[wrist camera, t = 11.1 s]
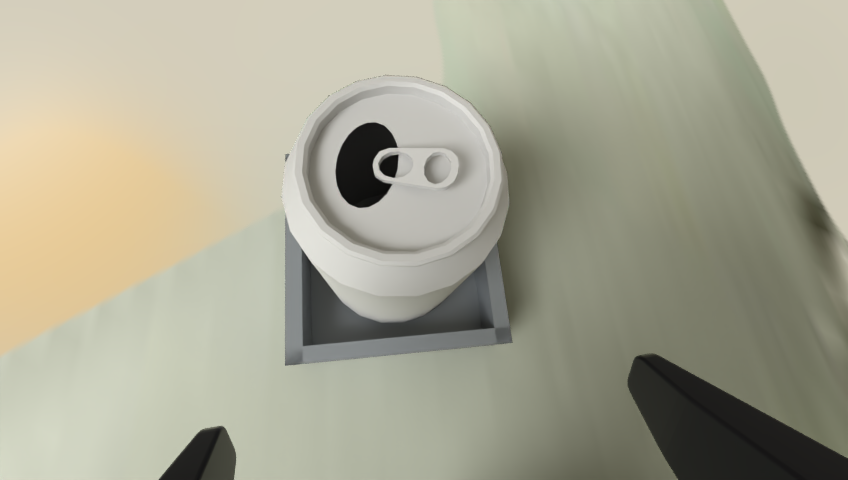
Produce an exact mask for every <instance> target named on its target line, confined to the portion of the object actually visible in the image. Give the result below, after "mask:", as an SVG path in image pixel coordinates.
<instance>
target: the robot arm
mask: <svg viewBox="0 0 848 480" xmlns="http://www.w3.org/2000/svg"><path fill="white" fill-rule="evenodd" d="M628 388H629V391H630V393H631V395H632V397H633V399H634V401H635V402H636V404H637V406H638V408H639V410H640V412H641V414H642V416H643V418H644V420H645V422H646V424H647V426H648V428H649V429H650V431H651V433H652V435H653V437H654V439H655V441H656V443H657V445H658V447H659V448H660V450H661V452H662V454H663V456H664V457H665V459H666V461H667V462H668V464H669V466H670V467H671V469H672V470H673V472H674V473H675V475H676V477H677V478H678V480H848V458H846V457H844V456H842V455H840V454H839V453H837V452H835V451H833V450H831V449H829V448H828V447H826V446H824V445H822V444H820V443H818V442H816V441H815V440H813V439H811V438H809V437H807V436H805V435H804V434H802V433H800V432H798V431H796V430H794V429H793V428H791V427H789V426H787V425H785V424H783V423H782V422H780V421H778V420H776V419H774V418H772V417H771V416H769V415H767V414H765V413H763V412H761V411H760V410H758V409H756V408H754V407H752V406H750V405H749V404H747V403H745V402H743V401H741V400H739V399H737V398H736V397H734V396H732V395H730V394H728V393H726V392H725V391H723V390H721V389H719V388H717V387H715V386H714V385H712V384H710V383H708V382H706V381H704V380H703V379H701V378H699V377H697V376H695V375H693V374H692V373H690V372H688V371H686V370H684V369H682V368H681V367H679V366H677V365H675V364H673V363H671V362H670V361H668V360H666V359H664V358H662V357H660V356H658V355H656V354H644V355H638V356H636V357H635V358H634V360H633V364H632V367H631V370H630V373H629V376H628ZM235 466H236V452H235V449H234V446H233V444H232V442H231V440H230V437H229V435H228V433H227V430H226V429H225V428H224V427H223V426H217V427H211V428H205V429H203V430H201V431H200V432H198V433H197V434H196V436H195V437H194V438H193V439H192V440H191V442H190V443H189V444H188V445H187V446H186V448H185V449H184V450H183V451H182V452H181V453H180V455H179V456H178V457H177V458H176V459H175V461H174V462H173V463H172V464H171V465H170V467H169V468H168V469H167V470H166V471H165V473H164V474H163V475H162V476H161V477H160V478H159V480H234V474H235Z"/></svg>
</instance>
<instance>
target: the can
mask: <svg viewBox="0 0 848 480" xmlns="http://www.w3.org/2000/svg"><path fill="white" fill-rule="evenodd" d="M282 201H283V205H284V209H285V213H286V217H287V221H288V225H289V229H290V232H291V233H292V235H293V236H294V237H295V239H296V240H297V242H298V243H299V245H300V246H301V248H302V249H303V251H304V252H305V254H306V255H307V257H308V258H309V260H310V261H311V262H312V264H313V265H314V266H315V268H316V269H317V270H318V271H319V273H320V274H321V275H322V277H323V278H324V279H325V281H326V282H327V283H328V284H329V286H330V287H331V288H332V290H333V291H334V292H335V293H336V295H337V296H338V297H339V299H340V300H341V301H342V303H344V304H345V305H346V306H348V307H349V308H350V309H352V310H353V311H354V312H356V313H357V314H358V315H360V316H362V317H365V318H368V319H371V320H374V321H377V322H380V323H404V322H407V321H410V320H413V319H416V318H419V317H422V316H424V315H426V314H427V313H428V312H430V311H431V310H432V309H434V308H435V307H437V306H438V305H439V304H441V303H442V302H443V301H444V300H445V299H446V298H447V297H448V296H449V295H450V294H451V293H452V292H453V291H454V290H455V289H456V288H457V287H458V286H459V285H460V284H461V283H462V282H463V281H464V280H465V279H466V278H468V277H469V276H470V275H471V274H472V273H473V272H474V271H475V270H476V269H477V268H478V267H479V266H480V265H481V264H482V263H483V261H484V260H485V258H486V257H487V255H488V254H489V252H490V251H491V250H492V248H493V247H494V245H495V244H496V242H497V241H498V239H499V238H500V236H501V234H502V231H503V227H504V223H505V219H506V215H507V212H508V208H509V204H510V203H509V190H508V177H507V170H506V168H505V166H504V163H503V161H502V152H501V150H500V148H499V145H498V143H497V141H496V138H495V136H494V133H493V131H492V129H491V126H490V125H489V124H488V123H487V121H486V120H485V119H484V118H483V117H482V115H481V114H480V113H479V112H478V111H477V110H476V108H475V107H474V106H473V105H472V104H471V103H470V102H469V101H467V100H466V99H464V98H463V97H461V96H459V95H458V94H456V93H455V92H453V91H452V90H450V89H449V88H447V87H446V86H443V85H440V84H437V83H434V82H431V81H428V80H425V79H422V78H419V77H411V76H394V75H383V76H379V77H374V78H370V79H364V80H360V81H356V82H354V83H352V84H350V85H348V86H346V87H344V88H342V89H340V90H338V91H337V92H335V93H333V94H331V95H329V96H328V97H327V98H326V99H325V100H324V101H323V102H322V103H321V104H320V105H319V106H318V107H317V108H316V109H315V110H314V111H313V112H312V113H311V114H310V115H309V116H308V117H307V119H306V121H305V124H304V126H303V128H302V130H301V132H300V134H299V136H298V138H297V140H296V142H295V144H294V146H293V149H292V150H291V153H290V155H289V157H288V159H287V161H286V163H285V170H284V180H283V188H282Z"/></svg>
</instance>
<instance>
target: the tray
mask: <svg viewBox="0 0 848 480" xmlns="http://www.w3.org/2000/svg"><path fill="white" fill-rule="evenodd" d="M289 155H290V154H286V160H285V161H287V159H288V157H289ZM285 163H286V162H285ZM505 343H512V337H511V330H510V324H509V317H508V311H507V304H506V298H505V291H504V285H503V278H502V272H501V265H500V259H499V252H498V246H497V242H496V244H495V245H494V247H493V248H492V250H491V251H490V252H489V254H488V255H487V257H486V258H485V260H484V261H483V263H482V264H481V265H480V266H479V267H478V268H477V269H476V270H475V271H474V272H473V273H472V274H471V275H470V276H469V277H468V278H466V279H465V280H464V281H463V282H462V283H461V284H460V285H459V286H458V287H457V288H456V289H455V290H454V291H453V292H452V293H451V294H450V295H449V296H448V297H447V298H446V299H445V300H444V301H443V302H442V303H441V304H439V305H438V306H437V307H435V308H434V309H432V310H431V311H430V312H428V313H427V314H426V315H424V316H422V317H419V318H416V319H413V320H410V321H407V322H404V323H380V322H377V321H374V320H371V319H368V318H365V317H362V316H360V315H358V314H357V313H356V312H354V311H353V310H352V309H350V308H349V307H348V306H346V305H345V304H344V303H342V301H341V300H340V299H339V297H338V296H337V295H336V293H335V292H334V291H333V290H332V288H331V287H330V286H329V284H328V283H327V282H326V281H325V279H324V278H323V277H322V275H321V274H320V273H319V271H318V270H317V269H316V268H315V266H314V265H313V264H312V262H311V261H310V260H309V258H308V257H307V255H306V254H305V252H304V251H303V249H302V248H301V246H300V245H299V243H298V242H297V240H296V239H295V237H294V236H293V235H292V233H291V232H290V229H289V225H288V221H287V217H286V213H285V366H286V365H296V364H307V363H316V362H326V361H336V360H346V359H356V358H366V357H376V356H386V355H396V354H406V353H416V352H426V351H436V350H446V349H456V348H466V347H476V346H486V345H496V344H505Z"/></svg>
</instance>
